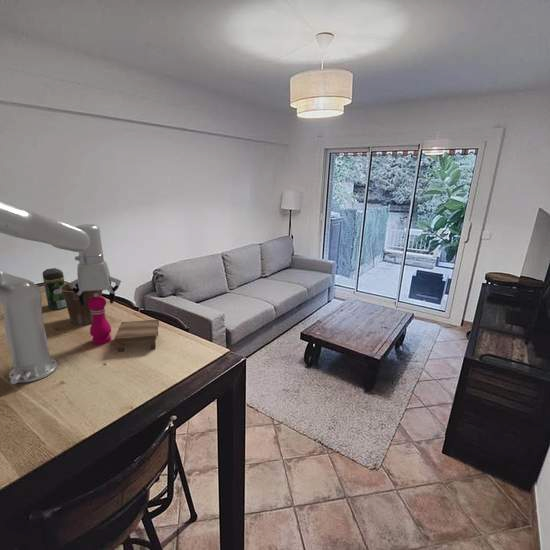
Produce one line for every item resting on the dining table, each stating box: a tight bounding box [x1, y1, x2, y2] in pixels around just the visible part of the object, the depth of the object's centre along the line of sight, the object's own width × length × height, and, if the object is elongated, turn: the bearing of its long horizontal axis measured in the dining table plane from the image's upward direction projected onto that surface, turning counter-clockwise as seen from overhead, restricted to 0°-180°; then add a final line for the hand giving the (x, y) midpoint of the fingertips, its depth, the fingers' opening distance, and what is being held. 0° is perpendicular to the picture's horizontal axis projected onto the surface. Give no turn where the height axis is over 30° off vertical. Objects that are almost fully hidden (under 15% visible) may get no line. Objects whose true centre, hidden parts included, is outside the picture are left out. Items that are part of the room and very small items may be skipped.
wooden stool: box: [113, 319, 160, 353], centre depth 124 cm, size 14×14×6 cm
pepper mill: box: [88, 293, 112, 346], centre depth 122 cm, size 7×7×20 cm
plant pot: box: [60, 282, 103, 326], centre depth 140 cm, size 16×16×16 cm
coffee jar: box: [42, 267, 67, 310], centre depth 152 cm, size 10×8×19 cm
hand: (98, 303), depth 121 cm, fingers open, 9 cm apart
